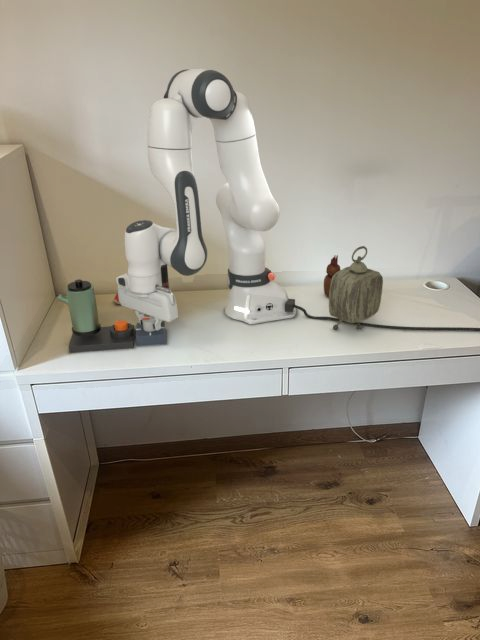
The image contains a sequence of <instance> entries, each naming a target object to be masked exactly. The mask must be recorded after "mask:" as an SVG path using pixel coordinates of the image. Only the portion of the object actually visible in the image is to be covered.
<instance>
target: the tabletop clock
mask: <svg viewBox="0 0 480 640" xmlns="http://www.w3.org/2000/svg"><path fill="white" fill-rule="evenodd" d="M359 250H365V253H364V255H363V256H361V255H358V256H357V258H356V259H354V256H355V254H356V253H357V252H358V251H359ZM367 255H368V248H367V247H366V246H365V245H361V246H359V247H357V248H356V249H354V251H353V252H352V254H351V261H352V262H353V263H351V264H350V265H349V266H346V267H344V268H342V269H340V271H338V272H337V273H335V274H334V275H333V277H332V280H331V285H330V292H329V297H328V314H329V316H330V317H333V318H338V319H340V320H339V321H337V323H336V324H333V326H332V329H333V330H335V331H336V330H338V328H339V326H340V324H341V323H343V322H342V321H346V322H348V323H347V324H350V323H357V322H358V325H355V326H356V327H355V328H356V329H357V330H360V331H361V329H362V328H363V326H362V325H360V322H363V321H366V320H368V319H369V318H371V317H374V316H375V315H376V314H377V313H379V310H380V306H381V303H382V302H381V301H382V295H383V285H384V279H383V275H382V274H381V272H379V271H378V270H374V269H370V268H368V267H367V265H366V264H365V263H364V262H363V260H364V259H365V258H366V257H367Z"/></svg>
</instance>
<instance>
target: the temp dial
mask: <svg viewBox="0 0 480 640" xmlns="http://www.w3.org/2000/svg"><path fill="white" fill-rule="evenodd" d="M142 322H143V330H144V331H147V332H152V331H155V330H154V329H153V325H152V324H154V323H155V322H156V320H154V317H153V316H150V315H147V316H145V317H144V318H142Z"/></svg>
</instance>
